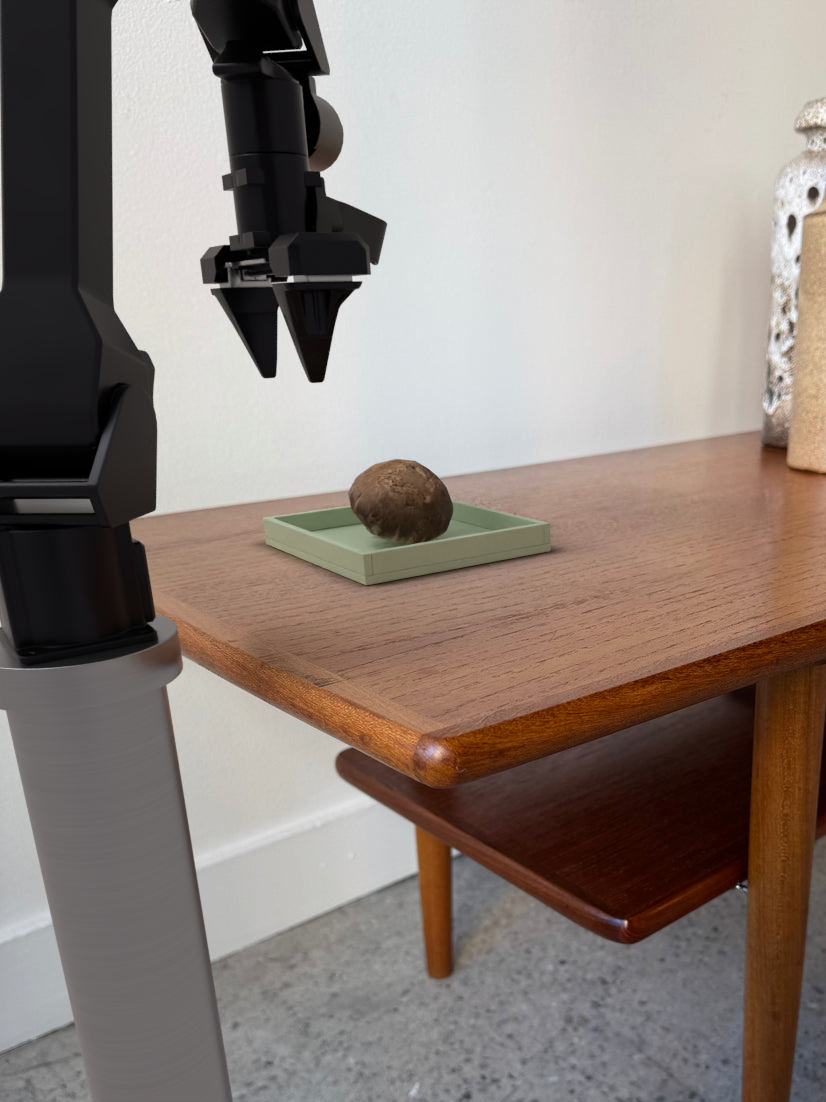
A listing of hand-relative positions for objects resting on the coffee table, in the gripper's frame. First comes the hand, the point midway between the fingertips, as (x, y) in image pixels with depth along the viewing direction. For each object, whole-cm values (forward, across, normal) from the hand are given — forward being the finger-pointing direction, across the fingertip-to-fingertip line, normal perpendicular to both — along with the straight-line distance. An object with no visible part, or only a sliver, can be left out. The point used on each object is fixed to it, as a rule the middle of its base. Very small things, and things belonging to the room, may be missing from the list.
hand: (292, 380), depth 82 cm
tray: (+12, -11, -3) cm, 17 cm away
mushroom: (+12, -11, -3) cm, 16 cm away
